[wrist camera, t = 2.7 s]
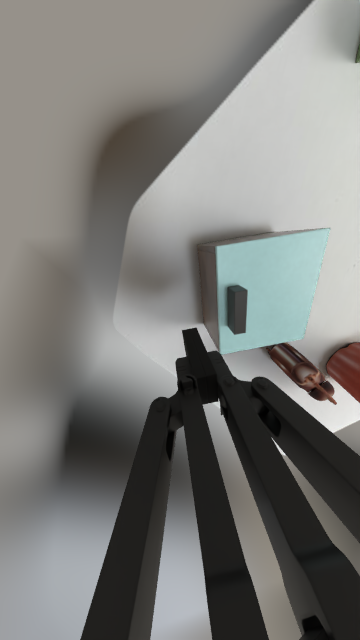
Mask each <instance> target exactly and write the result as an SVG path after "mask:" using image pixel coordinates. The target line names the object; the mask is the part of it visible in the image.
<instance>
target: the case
mask: <svg viewBox="0 0 360 640" xmlns="http://www.w3.org/2000/svg"><path fill="white" fill-rule="evenodd" d="M321 229H324V228H321ZM312 230H318V229H308V230H295V231H282V232H271V233H265V234H259V235H253V236H247V237H241V238H235V239H228V240H222V241H216V242H210V243H204V244H198V245H197V250H198V262H199V274H200V285H201V297H202V308H203V320H204V325H205V327H206V329H207V331H208V333H209V334H210V336H211V338H212V340H213V342H214V344H215V345H216V347H217V349H218V351H219V330H218V305H217V280H216V255H215V246H220V245H226V244H232V243H239V242H245V241H251V240H257V239H263V238H269V237H275V236H281V235H287V234H293V233H299V232H305V231H312Z"/></svg>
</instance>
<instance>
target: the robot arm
mask: <svg viewBox="0 0 360 640" xmlns="http://www.w3.org/2000/svg"><path fill="white" fill-rule="evenodd" d="M182 333H183V339H184V346H185V352H186V356H187V357H183V358H178V359H177V360H176V363H175V364H176V371H177V378H178V382H177V385H178V391H177V392H176V394H175V395H173V396H172V397H170V398H168V399H167V398H166V397H158V398H157V399H155V400H154V401H153V402H152V404H151V405H150V409H149V412H148V415H147V419H146V422H145V425H144V429H143V432H142V435H141V439H140V442H139V445H138V449H137V452H136V456H135V459H134V462H133V465H132V469H131V473H130V476H129V479H128V482H127V486H126V489H125V492H124V496H123V499H122V502H121V506H120V509H119V513H118V516H117V519H116V522H115V526H114V529H113V533H112V536H111V539H110V542H109V546H108V549H107V553H106V556H105V559H104V563H103V566H102V569H101V572H100V576H99V579H98V582H97V586H96V589H95V592H94V596H93V599H92V603H91V606H90V609H89V613H88V616H87V619H86V623H85V626H84V630H83V633H82V636H81V639H80V640H150V636H151V628H152V621H153V613H154V605H155V596H156V589H157V581H158V573H159V565H160V557H161V550H162V542H163V534H164V526H165V517H166V510H167V502H168V494H169V486H170V478H171V471H172V463H173V455H174V447H175V439H176V431H177V429H179V428H181V427H182V426H184V431H185V438H186V445H187V452H188V460H189V467H190V474H191V481H192V488H193V496H194V502H195V510H196V517H197V524H198V532H199V539H200V546H201V552H202V560H203V568H204V575H205V585H206V594H207V603H208V610H209V618H210V625H211V632H212V640H269V638H268V635H267V631H266V628H265V624H264V621H263V617H262V613H261V610H260V606H259V603H258V599H257V596H256V592H255V589H254V586H253V582H252V579H251V576H250V574H249V571H248V568H247V566H246V563H245V559H244V555H243V552H242V548H241V544H240V540H239V537H238V533H237V530H236V526H235V522H234V518H233V515H232V511H231V508H230V504H229V500H228V497H227V493H226V489H225V486H224V482H223V478H222V475H221V471H220V468H219V464H218V460H217V457H216V453H215V449H214V445H213V442H212V438H211V435H210V431H209V427H208V423H207V420H206V416H205V412H204V409H203V404H208V403H212V402H217V401H218V398H219V401H220V407H221V415H224V418H225V421H226V423H227V426H228V429H229V432H230V434H231V436H232V440H233V442H234V445H235V448H236V450H237V453H238V456H239V458H240V461H241V464H242V467H243V469H244V472H245V474H246V477H247V480H248V483H249V485H250V488H251V491H252V493H253V496H254V499H255V501H256V504H257V507H258V509H259V512H260V515H261V517H262V520H263V523H264V526H265V528H266V531H267V534H268V536H269V539H270V542H271V544H272V547H273V550H274V553H275V555H276V558H277V560H278V563H279V566H280V570H281V573H282V577H283V582H284V586H285V588H286V592H287V595H288V598H289V601H290V604H291V607H292V609H293V612H294V615H295V618H296V621H297V623H298V626H299V629H300V632H301V634H302V637H301V638H300V639H299V640H360V576H359V574H358V573H357V571H356V570H355V568H354V567H353V565H352V564H351V562H350V561H349V560H348V559H347V557H346V556H345V555H344V554H343V553H342V552H341V551H340V550H339V549H338V548H337V547H336V546H335V545H334V544H333V543H332V541H331V540H330V539H329V537H328V536H327V534H326V532H325V530H324V529H323V527H322V525H321V523H320V522H319V520H318V518H317V516H316V515H315V513H314V511H313V509H312V508H311V506H310V504H309V503H308V501H307V499H306V497H305V495H304V494H303V492H302V490H301V489H300V487H299V485H298V483H297V481H296V480H295V478H294V476H293V475H292V473H291V471H290V469H289V468H288V466H287V464H286V462H285V461H284V459H283V457H282V455H281V454H280V452H279V450H278V448H277V447H276V445H275V443H274V441H275V442H276V443H277V444H278V446H279V447H280V448H281V449H282V450H283V452H284V453H285V454H286V455H287V456H288V458H289V459H290V460H291V461H292V462H293V464H294V465H295V466H296V467H297V468H298V470H299V471H300V472H301V473H302V474H303V476H304V477H305V478H306V479H307V480H308V482H309V483H310V484H311V485H312V486H313V488H314V489H315V490H316V491H317V492H318V494H319V495H320V496H321V497H322V499H323V500H324V501H325V502H326V503H327V505H328V506H329V507H330V508H331V509H332V511H334V513H335V514H336V515H337V517H338V518H339V519H340V520H341V521H342V523H343V524H344V525H345V526H346V527H347V529H348V530H349V531H350V532H351V533H352V534H353V536H354V537H355V538H356V539H357V541H358V542H359V543H360V456H359V455H358V454H357V453H355V452H354V451H353V450H352V449H351V448H349V447H348V446H347V445H346V444H345V443H344V442H342V441H341V440H340V439H339V438H337V437H336V436H335V435H334V434H333V433H332V432H331V431H329V430H328V429H327V428H326V427H325V426H323V425H322V424H321V423H320V422H319V421H317V420H316V419H315V418H314V417H313V416H312V415H310V414H309V413H308V412H307V411H306V410H304V409H303V408H302V407H301V406H300V405H299V404H297V403H296V402H295V401H294V400H293V399H291V398H290V397H289V396H288V395H287V394H286V393H284V392H283V391H282V390H281V389H280V388H278V387H277V386H276V385H275V384H274V383H273V382H271V381H270V380H269V379H267V378H264V377H255V378H254V379H252V382H248V381H241V380H238V379H237V378H236V377H234V376H233V375H232V374H231V372H230V370H229V368H228V366H227V365H226V363H225V361H224V359H223V357H222V356H221V354H220V353H219V352H217V351H212V352H207V351H206V348H205V346H204V344H203V342H202V339H201V337H200V335H199V333H198V330H197V328H192V329H187V330H182ZM271 437H272V438H273V440H274V441H273V440H272V438H271Z"/></svg>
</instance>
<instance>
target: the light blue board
mask: <svg viewBox="0 0 360 640" xmlns="http://www.w3.org/2000/svg"><path fill="white" fill-rule="evenodd" d="M329 232H330V228H324V229H318V230H312V231H305V232H299V233H293V234H287V235H281V236H275V237H269V238H263V239H257V240H251V241H245V242H239V243H232V244H226V245H220V246H215V255H216V280H217V305H218V330H219V353H220V354H221V355H223V354H228V353H233V352H238V351H243V350H248V349H253V348H259V347H264V346H269V345H274V344H279V343H284V342H289V341H295V340H300V339H303V338H304V334H305V330H306V326H307V322H308V318H309V314H310V310H311V306H312V302H313V298H314V293H315V289H316V285H317V281H318V277H319V273H320V269H321V265H322V261H323V257H324V252H325V248H326V244H327V240H328V236H329Z"/></svg>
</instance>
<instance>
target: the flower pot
mask: <svg viewBox="0 0 360 640" xmlns="http://www.w3.org/2000/svg"><path fill="white" fill-rule="evenodd" d="M326 368H327V373H328V374H329V375H330V376H331V377H332V378H333V379H334V380H335V381H336V382H338V383H339V384H340V385H341V386H342V387H343V388H344V389H345V390H346V391H347V392H348V393H350V394H351V395H352V396H353V397H354V398H355V399H356V400H357V401H358V402H359V403H360V343H353V344H349V346H348V347H346V348H341V349H340V350H338V351H337V352H336V353H335V354H334V355H333V356H332V357H331V358H330V360H329V361H328V363H327V366H326Z"/></svg>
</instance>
